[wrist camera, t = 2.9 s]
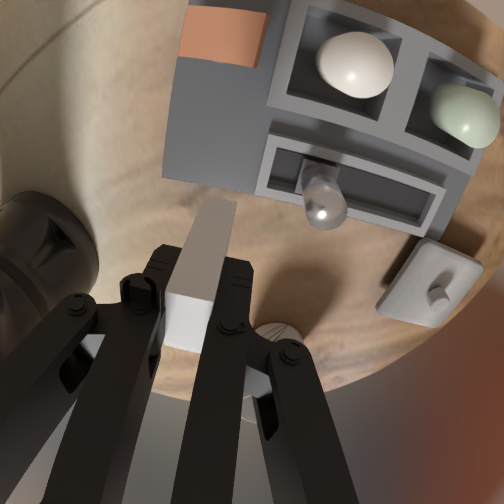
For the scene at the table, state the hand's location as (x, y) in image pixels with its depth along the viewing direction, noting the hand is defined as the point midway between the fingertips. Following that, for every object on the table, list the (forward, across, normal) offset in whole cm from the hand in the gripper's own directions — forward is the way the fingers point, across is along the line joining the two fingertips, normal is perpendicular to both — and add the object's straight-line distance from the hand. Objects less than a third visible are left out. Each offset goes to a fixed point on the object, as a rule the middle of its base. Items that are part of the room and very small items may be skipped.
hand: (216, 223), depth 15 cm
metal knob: (+10, +6, 0) cm, 12 cm away
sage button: (+7, +13, +9) cm, 17 cm away
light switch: (+13, +22, -8) cm, 27 cm away
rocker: (+8, -2, +9) cm, 12 cm away
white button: (+7, +5, +9) cm, 13 cm away
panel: (+12, +7, +5) cm, 15 cm away
